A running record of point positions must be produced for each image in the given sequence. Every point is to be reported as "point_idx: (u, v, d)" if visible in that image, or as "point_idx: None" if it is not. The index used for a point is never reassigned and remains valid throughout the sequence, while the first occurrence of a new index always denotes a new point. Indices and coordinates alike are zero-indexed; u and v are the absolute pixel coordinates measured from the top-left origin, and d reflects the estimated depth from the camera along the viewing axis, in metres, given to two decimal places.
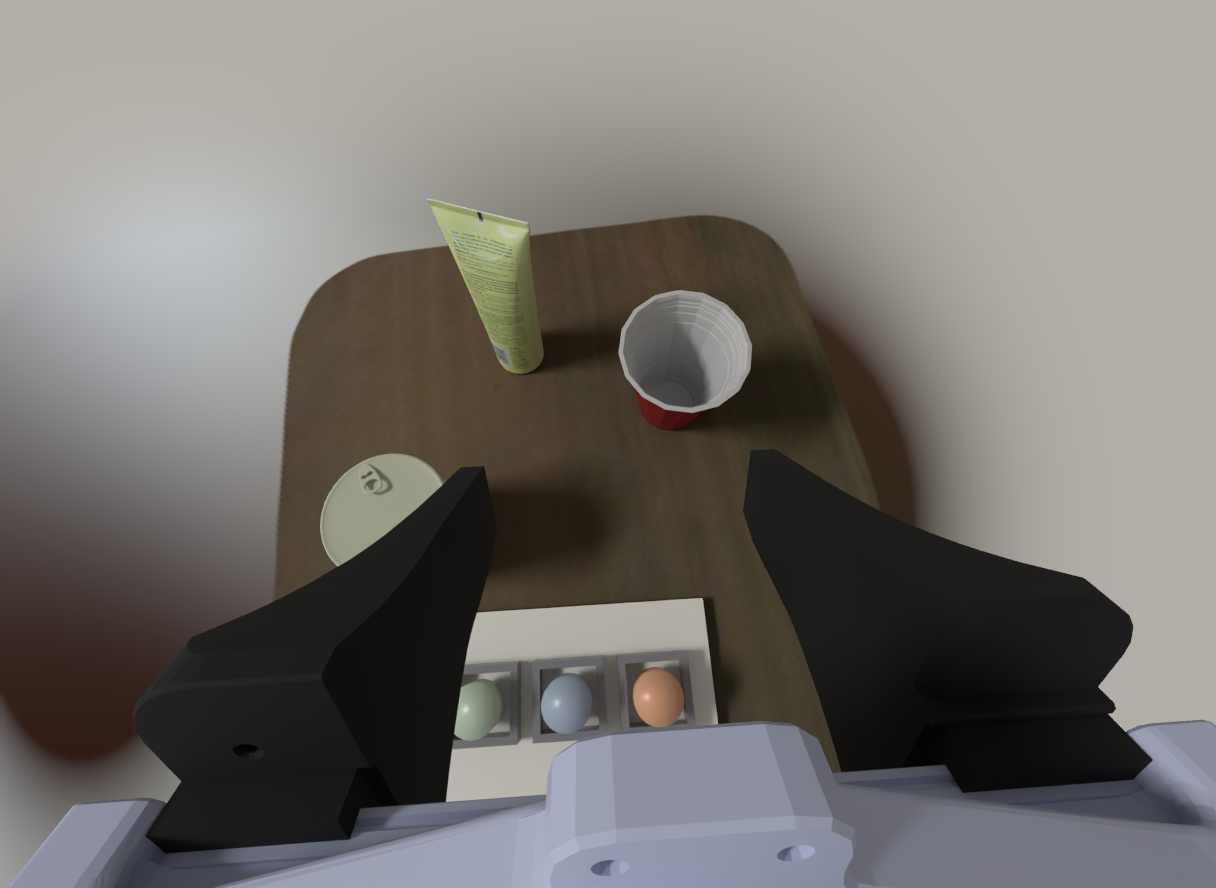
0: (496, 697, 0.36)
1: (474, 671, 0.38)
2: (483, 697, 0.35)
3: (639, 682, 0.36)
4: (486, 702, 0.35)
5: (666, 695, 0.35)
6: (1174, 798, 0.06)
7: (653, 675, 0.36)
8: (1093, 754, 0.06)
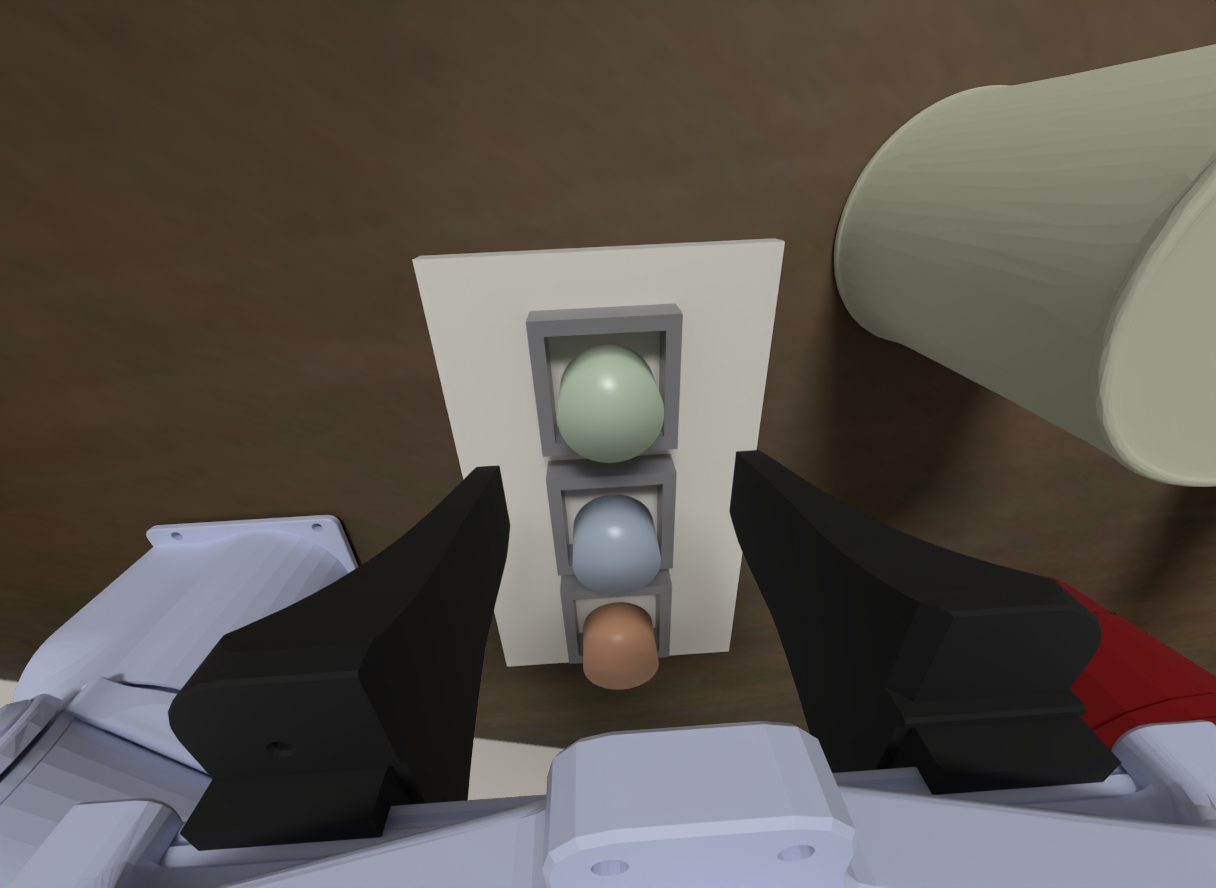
0: None
1: (669, 372, 0.18)
2: (636, 434, 0.17)
3: (644, 646, 0.23)
4: (626, 441, 0.17)
5: (624, 673, 0.24)
6: (1174, 798, 0.06)
7: (652, 660, 0.23)
8: (1063, 756, 0.06)
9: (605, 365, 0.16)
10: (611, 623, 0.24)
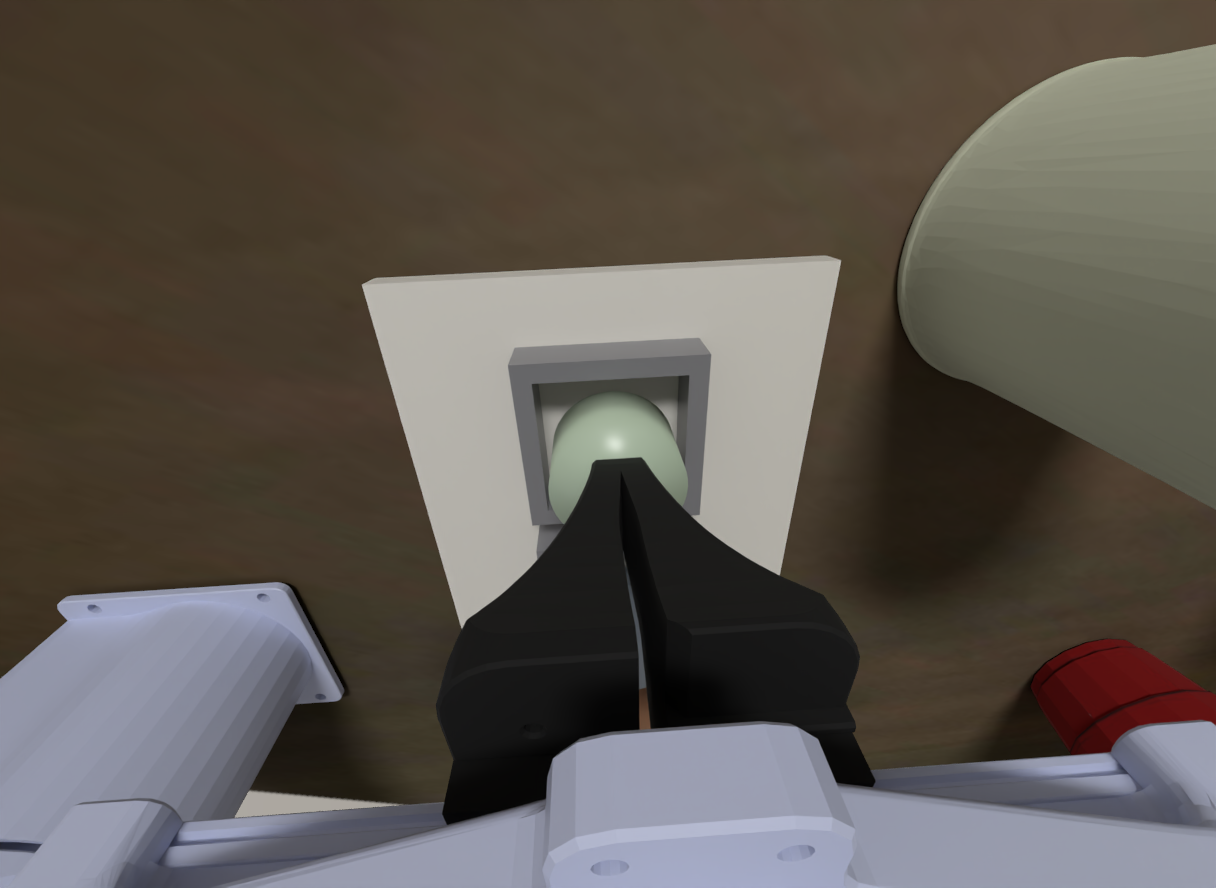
0: None
1: (692, 426, 0.15)
2: None
3: None
4: None
5: None
6: (1174, 798, 0.06)
7: None
8: None
9: (611, 425, 0.12)
10: None
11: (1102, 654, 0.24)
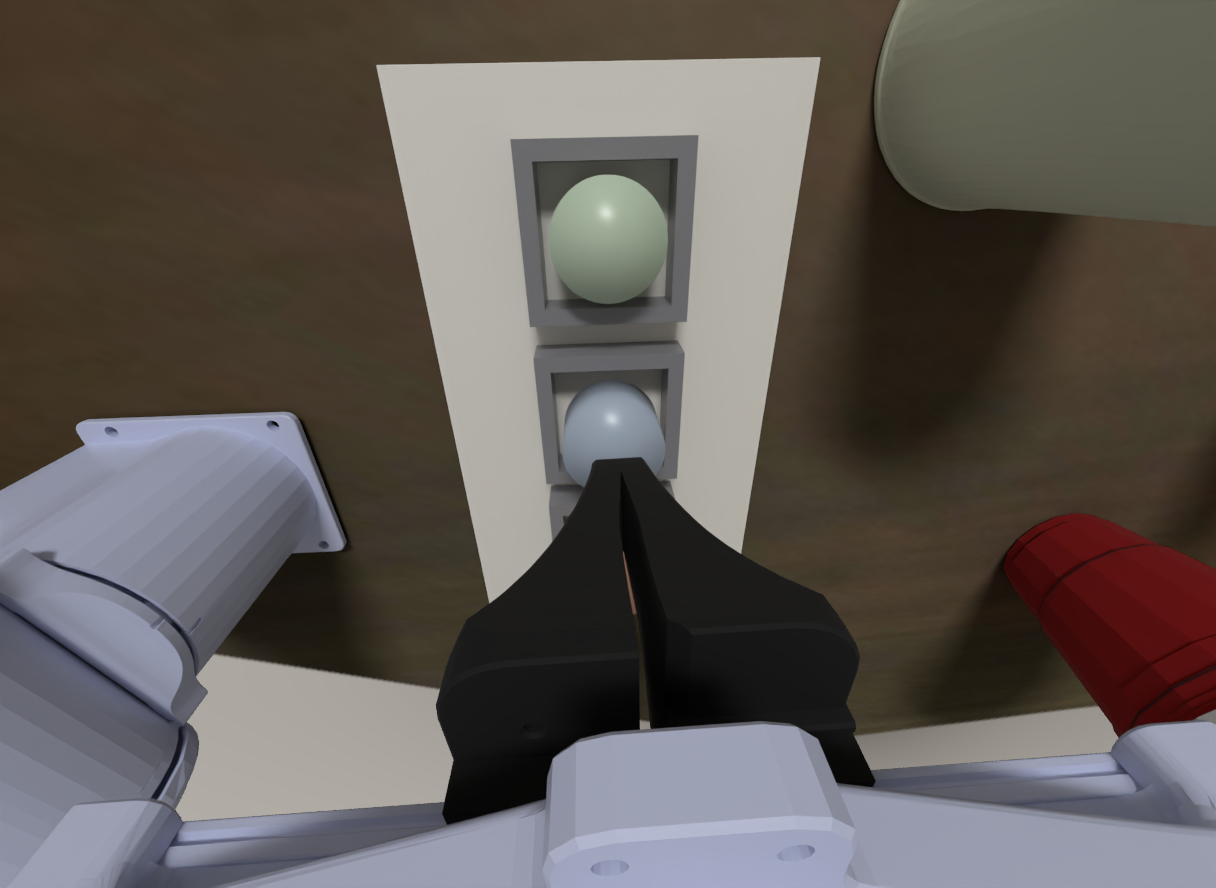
0: None
1: (680, 217, 0.16)
2: (636, 268, 0.15)
3: None
4: (625, 275, 0.15)
5: None
6: (1174, 798, 0.06)
7: None
8: None
9: (603, 175, 0.14)
10: None
11: (1070, 523, 0.26)
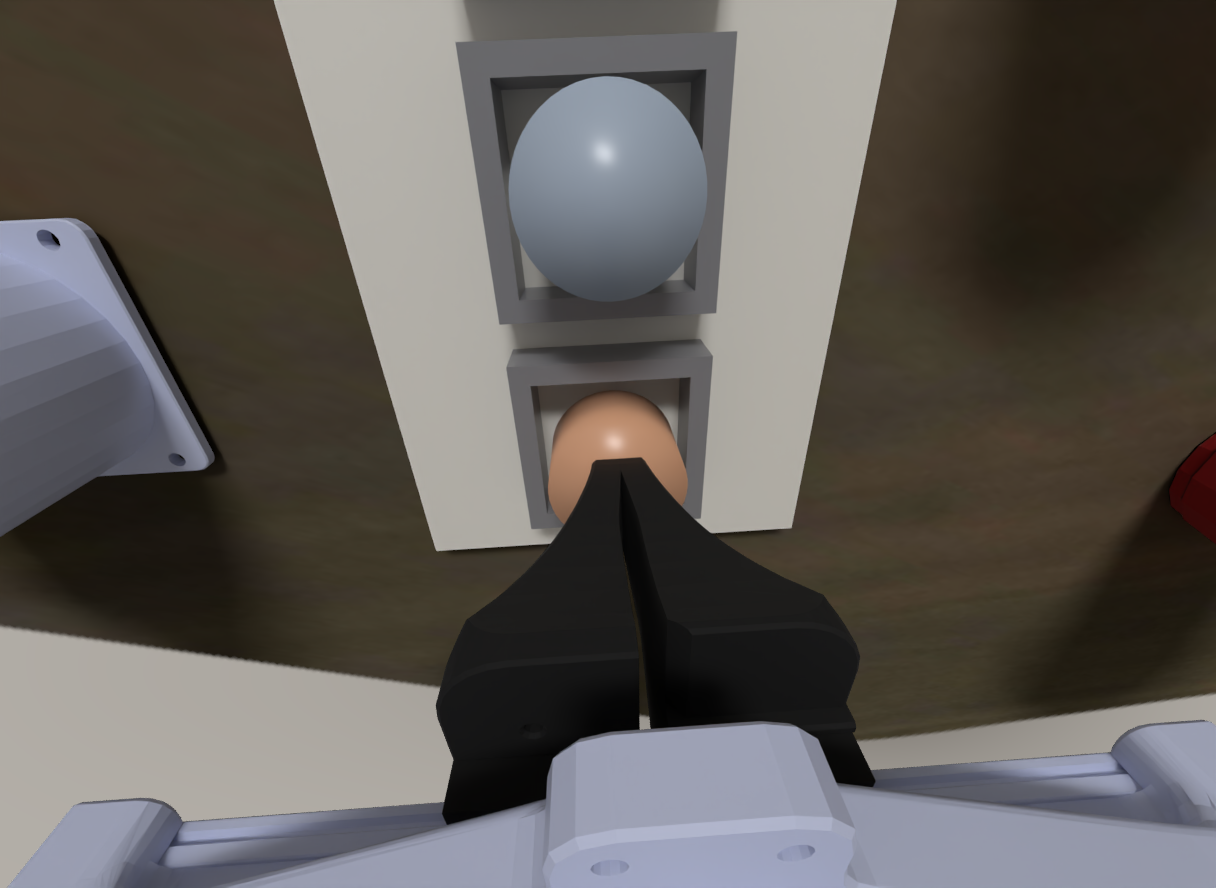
0: None
1: None
2: None
3: (662, 443, 0.12)
4: None
5: None
6: (1174, 798, 0.06)
7: (676, 478, 0.13)
8: None
9: None
10: (600, 411, 0.13)
11: None
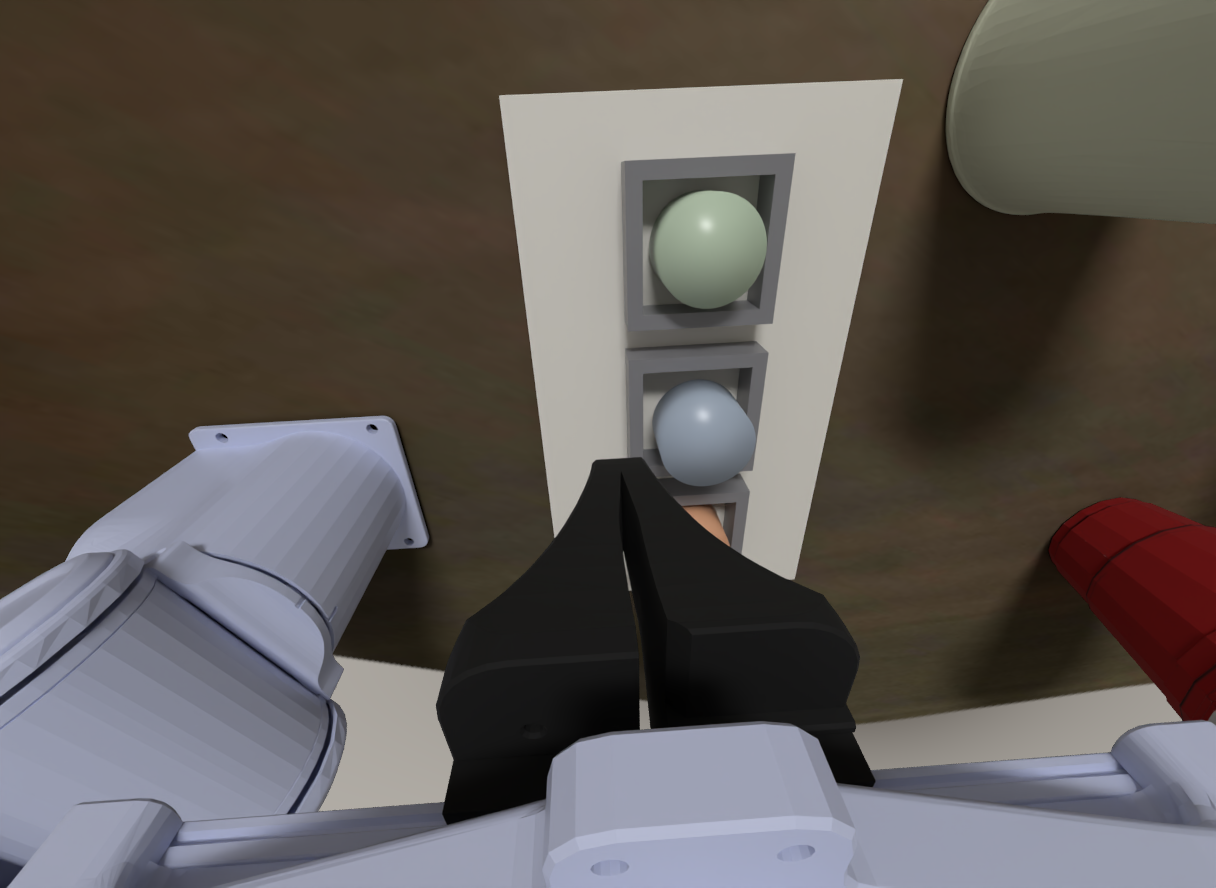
0: None
1: (773, 228, 0.17)
2: (735, 275, 0.17)
3: (718, 532, 0.23)
4: (725, 282, 0.17)
5: None
6: (1174, 798, 0.06)
7: None
8: None
9: (711, 191, 0.15)
10: None
11: (1115, 507, 0.27)
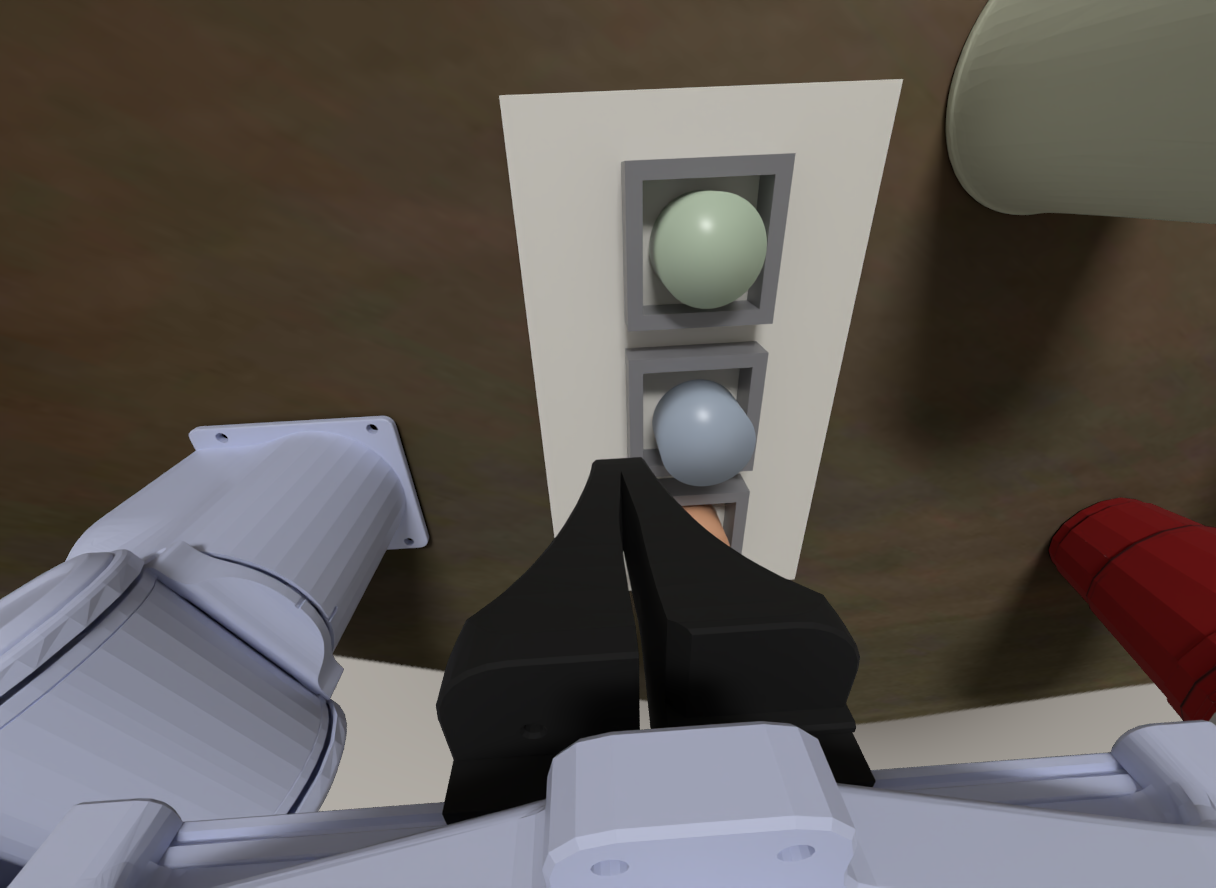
0: None
1: (773, 228, 0.17)
2: (735, 275, 0.17)
3: (718, 532, 0.23)
4: (725, 282, 0.17)
5: None
6: (1174, 798, 0.06)
7: None
8: None
9: (711, 191, 0.15)
10: None
11: (1115, 507, 0.27)
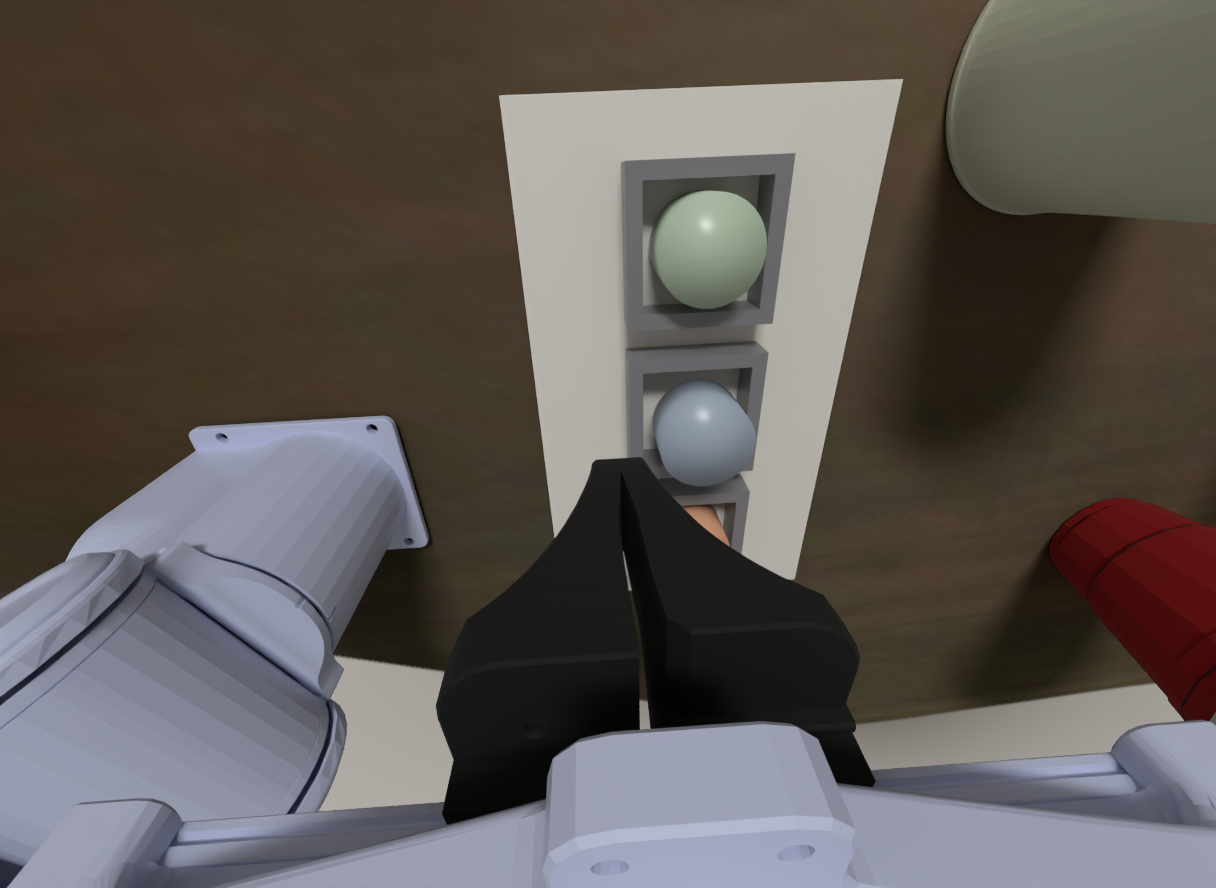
0: None
1: (773, 228, 0.17)
2: (735, 275, 0.17)
3: (718, 532, 0.23)
4: (725, 282, 0.17)
5: None
6: (1174, 798, 0.06)
7: None
8: None
9: (711, 191, 0.15)
10: None
11: (1115, 507, 0.27)
